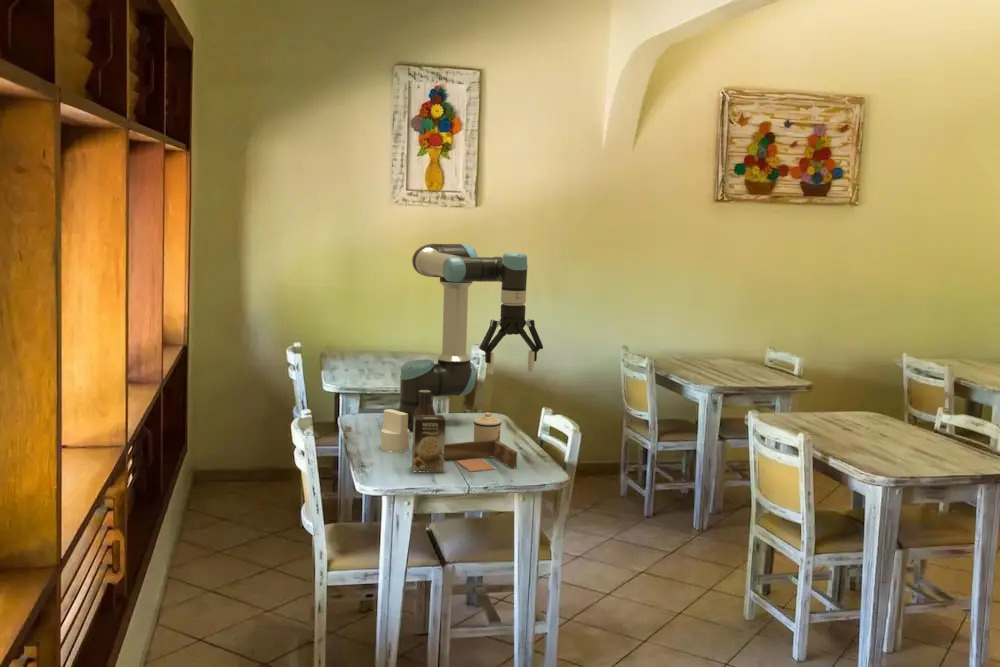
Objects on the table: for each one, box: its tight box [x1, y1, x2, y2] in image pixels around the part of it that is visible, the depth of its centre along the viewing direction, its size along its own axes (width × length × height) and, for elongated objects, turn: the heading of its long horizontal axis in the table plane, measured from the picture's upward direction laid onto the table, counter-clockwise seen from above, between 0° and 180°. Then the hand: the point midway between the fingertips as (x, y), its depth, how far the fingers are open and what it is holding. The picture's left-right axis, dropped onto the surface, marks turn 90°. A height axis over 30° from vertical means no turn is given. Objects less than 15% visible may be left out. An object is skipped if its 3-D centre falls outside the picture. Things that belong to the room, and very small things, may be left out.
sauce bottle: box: [415, 390, 433, 415], centre depth 281 cm, size 6×6×20 cm
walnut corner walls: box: [444, 440, 518, 469], centre depth 271 cm, size 15×18×5 cm
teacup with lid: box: [473, 412, 502, 442], centre depth 291 cm, size 12×9×12 cm
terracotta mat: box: [455, 458, 496, 473], centre depth 270 cm, size 11×8×1 cm
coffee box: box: [411, 414, 446, 473], centre depth 263 cm, size 9×6×16 cm
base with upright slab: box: [380, 408, 410, 453], centre depth 285 cm, size 9×9×12 cm
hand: (510, 372), depth 272 cm, fingers open, 13 cm apart
